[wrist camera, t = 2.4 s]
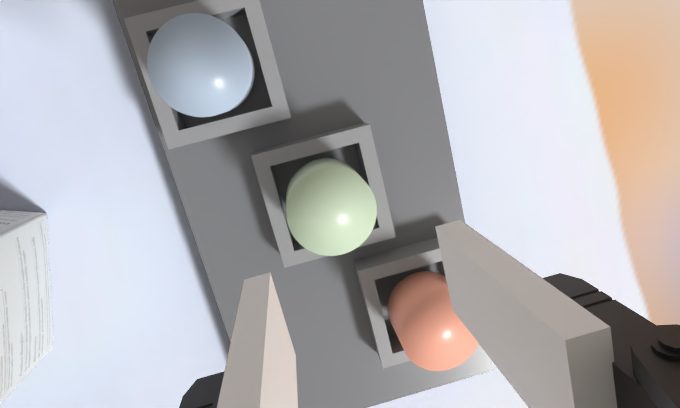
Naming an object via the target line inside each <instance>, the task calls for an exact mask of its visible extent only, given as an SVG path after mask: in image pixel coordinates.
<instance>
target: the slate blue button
mask: <svg viewBox="0 0 680 408" xmlns="http://www.w3.org/2000/svg"><path fill="white" fill-rule="evenodd" d="M147 67H148V73H149V77H150V80H151V83H152V85H153V87H154V89H155V90H156V92H157V93H158V95H159V96H160V97H161V98H162V99H163V101H164V102H165V103H167V104H168V105H169V106H170V107H172V108H173V109H175V110H177V111H179V112H181V113H183V114H186V115H189V116H194V117H211V116H215V115H219V114H222V113H225V112H228V111H231V110H233V109H235V108H236V107H238V106H239V105H240V104H241V103H242V102H243V101H244V100H245V99H246V98H247V96H248V95H249V93H250V91H251V89H252V87H253V83H254V78H255V66H254V61H253V58H252V55H251V53H250V51H249V49H248V47H247V46H246V44H245V43H244V41H243V40H242V39H241V37H240V36H239V35H238V34H237V33H236V31H235V30H234V29H233V28H232V27H230V26H229V25H228V24H227V23H225V22H224V21H222V20H220V19H218V18H216V17H214V16H211V15H207V14H202V13H188V14H183V15H180V16H177V17H174V18H172V19H170V20H169V21H168V22H166V23H165V24H164V25H163V26H161V27H160V28H159V30H158V31H157V32H156V34H155V35H154V37H153V39H152V41H151V43H150V46H149V50H148V55H147Z"/></svg>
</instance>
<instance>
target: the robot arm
mask: <svg viewBox="0 0 680 408" xmlns="http://www.w3.org/2000/svg"><path fill="white" fill-rule="evenodd" d="M435 228H436V233H437V238H438V243H439V247H440V252H441V257H442V262H443V267H444V271H445V276H446V281H447V286H448V291H449V296H450V300H451V305H452V310H453V311H454V312H455V314H456V315H457V316H458V318H459V319H460V320H461V321H462V323H463V324H464V325H465V327H466V328H467V329H468V330H469V332H470V333H471V334H472V335H473V337H474V338H475V339H476V341H477V342H478V343H479V344H480V346H481V347H482V348H483V350H484V351H485V352H486V353H487V355H488V356H489V357H490V359H491V360H492V361H493V362H494V364H495V365H496V366H497V367H498V369H499V370H500V371H501V373H502V374H503V375H504V376H505V378H506V379H507V380H508V382H509V383H510V384H511V385H512V387H513V388H514V389H515V391H516V392H517V393H518V394H519V396H520V397H521V398H522V399H523V401H524V402H525V403H526V405H527V406H528V407H529V408H680V325H658V326H656V325H655V324H653V323H652V322H650V321H648V320H647V319H645V318H644V317H642V316H640V315H639V314H637V313H636V312H634V311H632V310H631V309H629V308H627V307H626V306H624V305H623V304H621V303H619V302H618V301H616V300H612V298H611V297H610V296H608V295H607V294H605V293H603V292H602V291H601V292H599V291H598V289H597V288H595V287H594V286H592V285H590V284H589V283H587V282H586V281H584V280H582V279H579V278H575V277H572V276H568V275H564V274H561V273H560V274H556V275H553V276H549V277H546V278H541V277H540V276H538V275H537V274H536V273H534V272H533V271H531V270H530V269H529V268H527V267H526V266H524V265H523V264H522V263H520V262H519V261H517V260H516V259H515V258H513V257H512V256H510V255H509V254H507V253H506V252H505V251H503V250H502V249H500V248H499V247H498V246H496V245H495V244H493V243H492V242H491V241H489V240H488V239H486V238H485V237H484V236H482V235H481V234H479V233H478V232H477V231H475V230H474V229H472V228H471V227H470V226H468V225H467V224H465V223H464V222H463V221H461V220H457V221H453V222H450V223H446V224H443V225H439V226H435ZM179 408H298V396H297V374H296V354H295V351H294V348H293V345H292V341H291V338H290V335H289V332H288V328H287V325H286V322H285V319H284V315H283V312H282V309H281V306H280V302H279V299H278V296H277V293H276V289H275V286H274V283H273V280H272V276H271V273H266V274H262V275H259V276H255V277H252V278H248V279H244V283H243V288H242V292H241V297H240V302H239V306H238V311H237V316H236V320H235V325H234V330H233V334H232V339H231V344H230V349H229V353H228V358H227V363H226V367H225V371H224V372H221V373H217V374H214V375H210V376H207V377H203V378H200V379H197V380H196V381H195V382H194V384H193V385H192V386H191V387H190V389H189V390H188V391H187V392H186V393H185V395H184V396H183V398H182V401H181V404H180V407H179Z"/></svg>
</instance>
